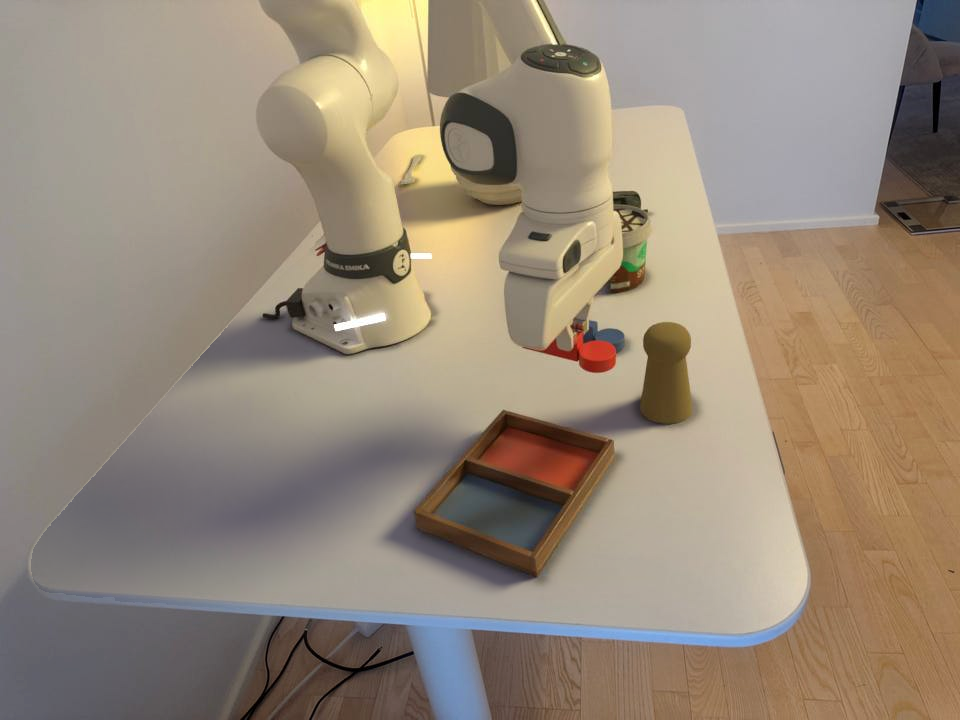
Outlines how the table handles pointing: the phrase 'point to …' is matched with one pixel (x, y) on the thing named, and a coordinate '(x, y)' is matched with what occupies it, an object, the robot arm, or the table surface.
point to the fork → (409, 178)
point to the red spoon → (586, 354)
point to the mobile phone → (627, 199)
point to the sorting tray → (516, 490)
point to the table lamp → (465, 69)
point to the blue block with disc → (605, 336)
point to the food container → (631, 248)
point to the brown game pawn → (666, 374)
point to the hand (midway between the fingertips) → (573, 340)
